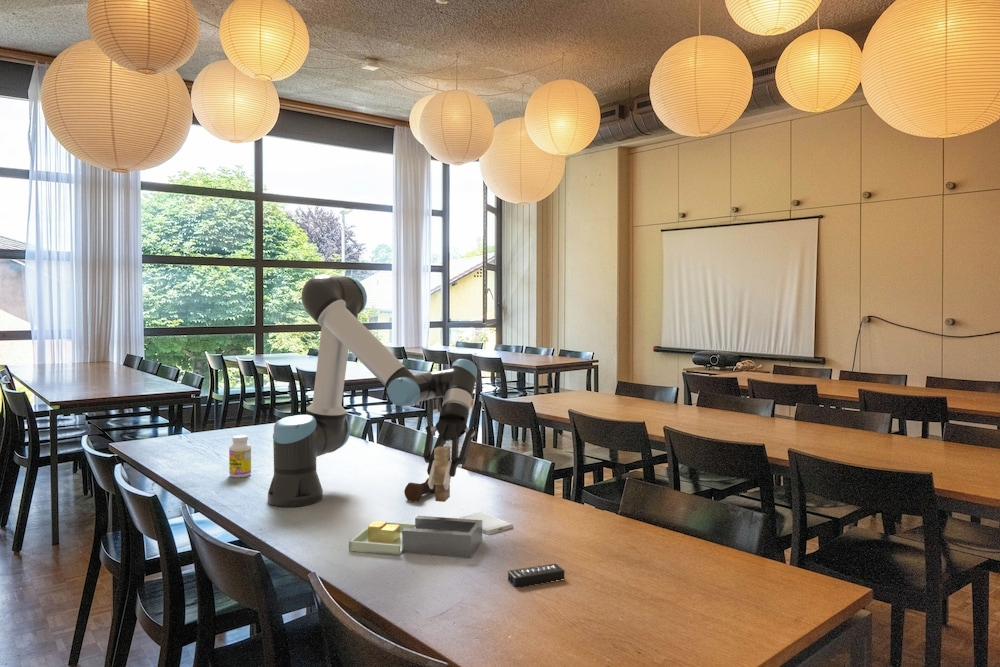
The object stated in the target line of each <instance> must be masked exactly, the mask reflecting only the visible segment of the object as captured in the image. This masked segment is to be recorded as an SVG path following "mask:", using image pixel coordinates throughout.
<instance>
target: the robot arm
mask: <svg viewBox="0 0 1000 667" xmlns="http://www.w3.org/2000/svg"><path fill="white" fill-rule="evenodd" d="M367 297H368V296H367V291H366V289H365V287H364V286H363V284H362V283H361V281H359V280H358V279H357V278H354V277H350V276H346V275H331V274H330V275H329V274H318V275H314V276H313V277H311V278H309V279H308V280H307V281H306V282H305V284H304V286H303V288H302V291H301V303H302V305H303V307H304V309H305V310H306V313H307V314H308V315H309V316H310V317H311V319H313V320H314V322H316V323H317V325H319V326H320V327H321V329H320V339H319V344H318V345H319V346H318V354H317V355H318V356H317V361H316V362H317V363H316V371H315V379H314V388H313V389H314V390H313V396H312V402H311V403H310V405H308V406H307V407H306V413H305V414H294V415H292V416H291V415H290V416H286V417H282V418H281V419H279V420H277V421H276V422H275V424H274V425H273V434H272V439H273V446H272V448H273V476H272V480H271V483H270V484H269V488H268V492H267V503H268V504H269V505H272V506H275V507H282V508H285V507H286V508H289V507H290V508H292V507H302V506H303V507H304V506H309V505H313V504H316V503H318V502H320V501H321V500H323V498H324V495H323V494H324V491H323V487H322V484H321V481H320V478H319V474H318V472H317V457H321V456H323V455H326V454H330V453H333V452H336V451H337V450H339V449H342V447H343V446H344V445H345V444H346V443H348V441H349V438H350V434H351V424H350V422H349V421H348V418H347V416H346V412H347V411H346V409H345V408H344V407H343V405H342V404H343V395H344V390H345V389H344V388H345V380H346V372H347V366H348V364H347V362H348V356H349V351H350V352H351V353H352V354H353V355H354V357H356V359H357V360H358V361H359V362H360V363H362V365H363V366H364V367H365V368H367V370H368V371H369V372H370V373H371V374H372V375H373V376H375V378H377V379H378V381H379V382H380V383H381V384H382V385H384V387H385V388H386V390H387V396H388V399H389V401H390V402H391V403H392V404H393V405H395V406H398V407H405V406H406V407H407V406H412V405H414V404H418V403H419V402H424V401H425V402H426V401H428V400H431V399H437V398H443V400H442V405H441V409H440V414H439V417H438V421H437V423H436V424H435V425H434V426H430V425H427V426H426V427H425V431H426V437H425V443H424V449H423V455H422V457H423V459H424V462H425V463H426V464H428V465H427V469H426V472H427V475H428V478H429V480H428V485H429V488H430V489H433V487H434V482H435V480H434V449H435V448H436V447H438V446H440V447H445V445H446V444H447V441H451V456H450V461H448V464H447V468H446V473H445V477H444V482H443V485H444V488H445V490H448V488H449V484H450V485H451V478H452V477H453V478H454V477H455V476H456V473H457V468H458V466H460V465H463V466H464V465H465V464H466V461H467V457H468V454H469V451H470V448H471V444H472V441H473V439H474V438H475V437H476V431H475V428H474V427H468V426H467V425H468V424H467V423H468V419H469V415H470V409H471V405H472V400H473V395H474V390H475V386H476V383H477V378H478V377H477V376H478V368H477V365H476V364H475V363H474V362H473V361H471V360H469V359H465V358H459V359H456V360H455V361H453V363H452V364H451V366H450V369H443V370H434V371H425V372H423V371H422V372H418V373H412V371H410V370H409V368H407V367H406V366H405V365H404V364H403V363H402V362H401V361H400V360H399V359H398V358H397V357H396V356H395V355H394V354H393V353H392V352H391V351H390V350H389V349H388V348H387V347H386V346H385V345H384V344H383V343H382V342H381V341H380V340H379V339H378V338H377V337H376V336H375V334H373V333H372V332H371V331H370V330H369V329H368V328H367V327H366V326H365V325H364V324H363V323H362V322H361V321H360V320H359V319H358V316H359V315H360V314H361V313H362V311H363V310H365V308H366V305H367V302H368V298H367ZM436 432H437V433H438V434H437V435H438V436H437V440H436V442H435V445H434V447H433V444H434V436H435V434H436ZM464 434H465V435H464ZM463 435H464V440H463V442H462V445H461V447H460V448H461V449H460V452H459V444H460V438H461V437H462V436H463Z"/></svg>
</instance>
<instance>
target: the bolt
mask: <svg viewBox="0 0 1000 667" xmlns="http://www.w3.org/2000/svg"><path fill="white" fill-rule="evenodd" d="M428 480H429V477H427V479H426V480H425V481H424V482H422V483H416V482H408V484H406V486H405V488H404V491H403V492H404V496H405V499H406V500H407V501H409V500H411V501H410V502H413V501H417V502H419V501H420V500H421V499H422V497H423V496H424V495H425V494H435V483H434V487H433V489H430V488H429V485H428ZM429 492H430V493H429Z"/></svg>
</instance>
